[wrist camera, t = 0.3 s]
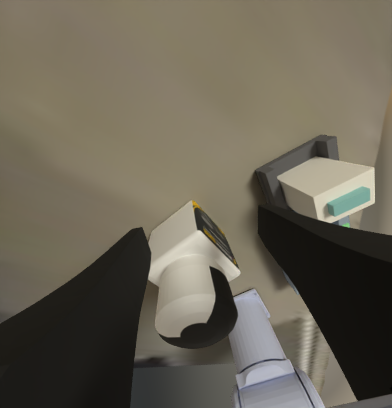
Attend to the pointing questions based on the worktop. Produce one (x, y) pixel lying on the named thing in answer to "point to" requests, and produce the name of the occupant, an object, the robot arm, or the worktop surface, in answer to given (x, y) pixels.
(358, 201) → the plug
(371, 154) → the worktop surface
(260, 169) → the bracket
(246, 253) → the worktop surface
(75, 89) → the worktop surface
